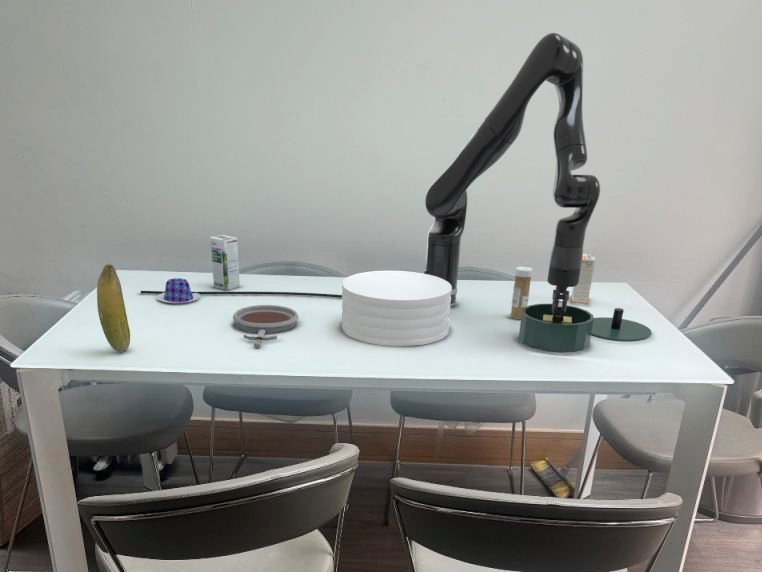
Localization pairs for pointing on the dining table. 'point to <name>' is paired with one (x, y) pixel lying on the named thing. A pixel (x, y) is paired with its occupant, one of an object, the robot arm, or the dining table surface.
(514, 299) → the sprinkles bottle
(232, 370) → the dining table surface
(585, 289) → the supplement box
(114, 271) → the vegetable
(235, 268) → the syrup box
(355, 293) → the plate stack
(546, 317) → the butter
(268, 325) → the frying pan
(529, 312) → the pot
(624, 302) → the dining table surface
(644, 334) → the pot lid
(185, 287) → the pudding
